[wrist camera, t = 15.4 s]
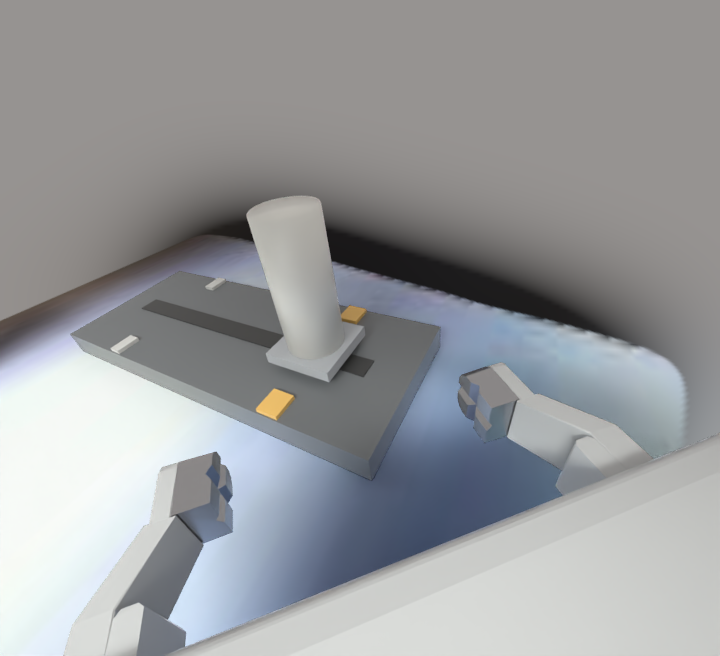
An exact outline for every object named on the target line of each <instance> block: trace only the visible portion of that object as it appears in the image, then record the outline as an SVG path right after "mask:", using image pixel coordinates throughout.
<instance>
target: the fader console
mask: <svg viewBox="0 0 720 656" xmlns="http://www.w3.org/2000/svg"><path fill="white" fill-rule="evenodd" d="M339 307H340V313H341V319H342V321H343V322H347V323H351V324H355V325H360V326H364V329H365V336H364V338H363V339H362V340H361V342H360V343H359V344H358V345H357V347H356V348H355V349H354V351H353V352H352V353H351V355H350V356H349V357H348V358H347V360H346V361H345V362H344V364H343V365H342V366H341V368H340V369H339V370H338V372H337V373H336V374H335V375H334V377H333V378H332V379H331V381H330V382H327V381H324V380H321V379H318V378H315V377H312V376H309V375H306V374H303V373H300V372H297V371H294V370H290V369H287V368H284V367H281V366H278V365H275V364H272V363H269V362H268V359H267V356H266V353H267V352H268V351H269V350H270V349H271V348H272V347H273V346H274V345H275V344H276V343H277V342H278V341H279V340H280V339H281V338H282V337H283V336H284V334H283V331H282V328H281V324H280V321H279V318H278V315H277V312H276V309H275V305H274V302H273V299H272V296H271V293H270V290H266V289H261V288H257V287H252V286H247V285H243V284H238V283H233V282H229V281H226V279H222V278H217V279H214V278H210V277H205V276H200V275H196V274H191V273H186V272H182V271H179V272H177V273H175V274H174V275H172V276H170V277H168V278H167V279H165V280H163V281H161V282H160V283H158V284H156V285H155V286H153V287H151V288H149V289H148V290H146V291H144V292H142V293H141V294H139V295H137V296H135V297H134V298H132V299H130V300H129V301H127V302H125V303H123V304H122V305H120V306H118V307H116V308H115V309H113V310H111V311H109V312H108V313H106V314H104V315H103V316H101V317H99V318H97V319H96V320H94V321H92V322H90V323H89V324H87V325H85V326H83V327H82V328H80V329H78V330H76V331H75V332H73V333H71V334H70V335H71V336H72V337H73V339H74V340H75V341H76V342H77V344H78V345H79V346H80V347H81V349H82V350H83V351H84V352H87V353H89V354H91V355H93V356H96V357H98V358H100V359H102V360H104V361H107V362H109V363H111V364H113V365H116V366H118V367H120V368H122V369H124V370H127V371H129V372H131V373H133V374H136V375H138V376H140V377H142V378H144V379H147V380H149V381H151V382H153V383H156V384H158V385H160V386H162V387H164V388H167V389H169V390H171V391H173V392H176V393H178V394H180V395H182V396H184V397H187V398H189V399H191V400H193V401H196V402H198V403H200V404H202V405H204V406H207V407H209V408H211V409H213V410H216V411H218V412H220V413H222V414H224V415H227V416H229V417H231V418H233V419H236V420H238V421H240V422H242V423H244V424H247V425H249V426H251V427H253V428H255V429H258V430H260V431H262V432H264V433H267V434H269V435H271V436H273V437H275V438H278V439H280V440H282V441H284V442H287V443H289V444H291V445H293V446H295V447H298V448H300V449H302V450H304V451H307V452H309V453H311V454H313V455H315V456H318V457H320V458H322V459H324V460H327V461H329V462H331V463H333V464H335V465H338V466H340V467H342V468H344V469H347V470H349V471H351V472H353V473H355V474H358V475H360V476H362V477H364V478H367V479H369V480H371V481H372V480H373V478H374V476H375V474H376V472H377V470H378V468H379V466H380V464H381V462H382V460H383V458H384V456H385V454H386V452H387V450H388V448H389V446H390V444H391V442H392V440H393V438H394V436H395V434H396V432H397V430H398V428H399V426H400V424H401V422H402V421H403V419H404V417H405V415H406V413H407V411H408V409H409V407H410V405H411V403H412V401H413V399H414V397H415V395H416V393H417V391H418V389H419V387H420V385H421V383H422V381H423V379H424V377H425V375H426V373H427V371H428V369H429V367H430V365H431V363H432V361H433V359H434V357H435V355H436V353H437V351H438V349H439V347H440V328H441V327H439V326H434V325H429V324H425V323H420V322H415V321H411V320H406V319H401V318H397V317H392V316H387V315H383V314H378V313H373V312H369V311H367V310H366V309H365V308H360V307H355V306H350V305H349V306H348V307H345V306H341V305H339Z"/></svg>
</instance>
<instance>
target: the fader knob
mask: <svg viewBox="0 0 720 656" xmlns="http://www.w3.org/2000/svg"><path fill="white" fill-rule="evenodd" d="M246 216H247V220H248V223H249V226H250V229H251V232H252V235H253V239H254V242H255V245H256V248H257V251H258V255H259V258H260V261H261V264H262V267H263V270H264V274H265V277H266V280H267V283H268V286H269V290H270V293H271V296H272V299H273V302H274V305H275V309H276V312H277V315H278V318H279V321H280V324H281V328H282V331H283V334H284V336H283V337H282V338H281V339H280V340H279V341H278V342H277V343H276V344H275V345H274V346H273V347H272V348H271V349H270V350H269V351H268V352H267V353H266V356H267V359H268V362H269V363H272V364H275V365H278V366H281V367H284V368H287V369H290V370H294V371H297V372H300V373H303V374H306V375H309V376H312V377H315V378H318V379H321V380H324V381H327V382H330V381H331V379H332V378H333V377H334V375H335V374H336V373H337V372H338V370H339V369H340V368H341V366H342V365H343V364H344V362H345V361H346V360H347V358H348V357H349V356H350V355H351V353H352V352H353V351H354V349H355V348H356V347H357V345H358V344H359V343H360V342H361V340H362V339H363V338H364V336H365V329H364V326H360V325H355V324H351V323H347V322H343V321H342V319H341V313H340V307H339V302H338V296H337V290H336V285H335V279H334V273H333V268H332V262H331V256H330V251H329V245H328V240H327V234H326V228H325V223H324V217H323V211H322V206H321V201H320V200H319V199H318V198H315V197H311V196H290V197H283V198H278V199H273V200H270V201H267V202H264V203H261V204H259V205H257V206H255V207H253V208H252V209H250V210H249V211H248V212H247V214H246Z"/></svg>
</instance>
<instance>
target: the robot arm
mask: <svg viewBox="0 0 720 656" xmlns="http://www.w3.org/2000/svg"><path fill="white" fill-rule="evenodd" d="M459 383H460V385H461V386H462V387H461V388H460V390H459V391H458V402H459V406H460V408H461V410H462V412H463V413H464V415H465V416H466V417H467V418H469V419H471V420H473V421H474V425H473V428H474V429H475V431H476V432H477V433H478V435H479V436H480V438H481V439H482V441H483V442H484V443H487V442H490V441H493V440H496V439H499V438H502V437H505V436H507V438H509V439H511V440H512V441H514V442H516V443H517V444H519V445H521V446H522V447H524V448H525V449H527V450H529V451H530V452H532V453H534V454H535V455H537V456H539V457H540V458H542V459H544V460H545V461H547V462H548V463H550V464H552V465H553V466H555V467H557V468H558V469H560V470H562V471H561V473H560V475H559V477H558V479H557V481H556V488H557V489H558V490H559V491H560V493H561V494H562V495H563V496H561V497H558V498H556V499H553V500H551V501H548V502H546V503H543V504H541V505H538V506H536V507H533V508H531V509H528V510H526V511H523V512H521V513H518V514H516V515H513V516H511V517H508V518H506V519H503V520H501V521H498V522H496V523H493V524H491V525H488V526H486V527H483V528H481V529H478V530H476V531H473V532H471V533H468V534H466V535H463V536H461V537H458V538H456V539H453V540H451V541H448V542H446V543H443V544H441V545H438V546H436V547H433V548H431V549H428V550H426V551H423V552H421V553H418V554H416V555H413V556H411V557H408V558H406V559H403V560H401V561H398V562H396V563H393V564H391V565H388V566H386V567H383V568H381V569H378V570H376V571H373V572H371V573H368V574H366V575H363V576H361V577H358V578H356V579H353V580H351V581H348V582H346V583H343V584H341V585H338V586H336V587H333V588H331V589H328V590H326V591H323V592H321V593H318V594H316V595H313V596H311V597H308V598H306V599H303V600H301V601H298V602H296V603H293V604H291V605H288V606H286V607H283V608H281V609H278V610H276V611H273V612H271V613H268V614H266V615H263V616H261V617H258V618H256V619H253V620H251V621H248V622H246V623H243V624H241V625H238V626H236V627H233V628H231V629H228V630H226V631H223V632H221V633H218V634H216V635H213V636H211V637H208V638H206V639H203V640H201V641H199V642H196V643H194V644H191V645H189V646H186V647H185V639H186V632H185V631H184V630H183V629H182V628H181V627H179V626H177V625H176V624H174V623H172V622H171V621H169V620H168V618H169V616H170V614H171V612H172V610H173V608H174V606H175V604H176V602H177V600H178V598H179V596H180V593H181V591H182V589H183V587H184V585H185V583H186V581H187V579H188V577H189V575H190V573H191V571H192V568H193V566H194V564H195V562H196V560H197V558H198V556H199V554H200V552H201V550H202V548H203V546H204V545H203V543H206V542H208V541H211V540H214V539H216V538H219V537H221V536H224V535H227V534H229V533H232V532H233V510H232V508H231V507H230V505H229V504H228V502H229V501H230V499H231V497H232V496H233V493H232V482H231V476H230V473H229V471H228V469H227V467H226V466H225V465H222V464H220V460H221V458H220V456H219V455H218V453H217V452H213V453H210V454H206V455H203V456H199V457H195V458H192V459H188V460H185V461H181V462H178V463H175V464H171V465H168V466H165V467H162V468H161V470H160V472H159V474H158V479H157V484H156V490H155V495H154V501H153V506H152V512H151V517H150V523H149V524H148V525H145V526H143V528H142V529H141V531H140V532H139V533H138V535H137V536H136V537H135V539H134V540H133V542H132V543H131V544H130V546H129V547H128V549H127V550H126V551H125V553H124V554H123V555H122V557H121V558H120V560H119V561H118V562H117V564H116V565H115V567H114V568H113V569H112V571H111V572H110V574H109V575H108V576H107V578H106V579H105V580H104V582H103V583H102V585H101V586H100V587H99V589H98V590H97V592H96V593H95V594H94V596H93V597H92V598H91V600H90V601H89V603H88V604H87V605H86V607H85V608H84V610H83V611H82V612H81V614H80V615H79V616H78V618H77V619H76V621H75V622H74V623H73V625H72V628H71V631H70V634H69V638H68V641H67V645H66V648H65V652H64V655H63V656H720V433H718V434H716V435H713V436H710V437H708V438H705V439H703V440H701V441H698V442H696V443H693V444H690V445H688V446H685V447H683V448H680V449H678V450H675V451H673V452H670V453H668V454H665V455H663V456H660V457H658V458H655V459H653V458H652V457H651V456H650V455H649V454H648V453H647V452H646V451H645V450H643V449H642V448H641V447H640V446H639V445H638V444H637V443H636V442H635V441H634V440H632V439H631V438H630V437H629V436H628V435H627V434H626V433H625V432H624V431H622V430H621V429H620V428H619V427H618V426H617V425H616V424H613V423H611V422H608V421H606V420H603V419H601V418H598V417H596V416H593V415H591V414H588V413H586V412H583V411H581V410H578V409H576V408H573V407H571V406H568V405H566V404H563V403H561V402H558V401H556V400H553V399H551V398H548V397H546V396H543V395H541V394H536V395H535V394H534V393H533V392H532V391H531V390H530V389H529V388H528V387H527V386H526V385H525V384H524V383H523V382H522V381H521V380H520V379H519V378H518V377H517V376H516V375H515V374H514V373H513V372H512V371H511V370H510V369H509V368H508V367H507V366H506V365H505V364H504V363H502V362H501V363H497V364H494V365H491V366H488V367H483V368H480V369H477V370H474V371H471V372H468V373H465V374H462V375H461V376H460V378H459Z"/></svg>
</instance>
